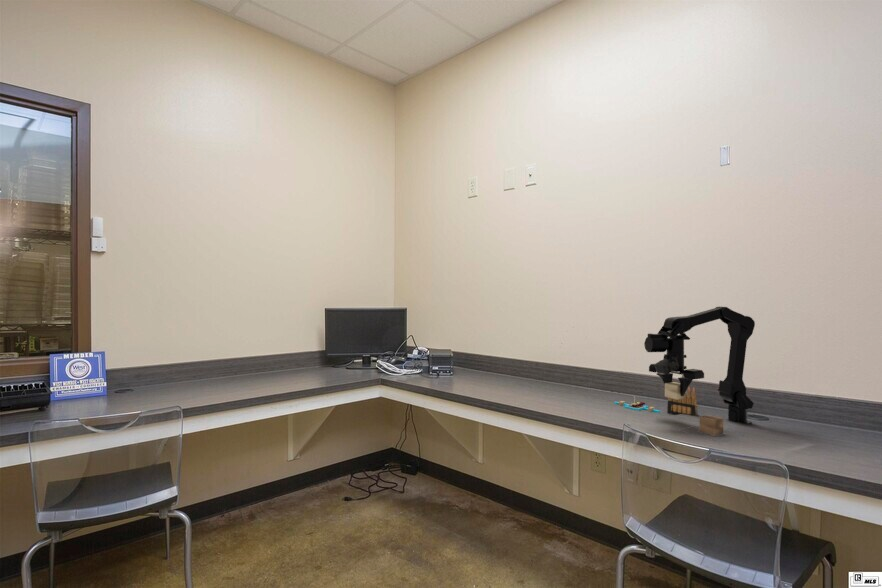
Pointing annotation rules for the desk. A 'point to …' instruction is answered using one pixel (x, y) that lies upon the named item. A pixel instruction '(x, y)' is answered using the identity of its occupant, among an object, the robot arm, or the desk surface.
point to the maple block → (673, 391)
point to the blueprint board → (712, 435)
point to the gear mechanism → (637, 406)
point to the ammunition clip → (683, 404)
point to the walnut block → (711, 425)
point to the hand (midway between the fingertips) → (675, 394)
